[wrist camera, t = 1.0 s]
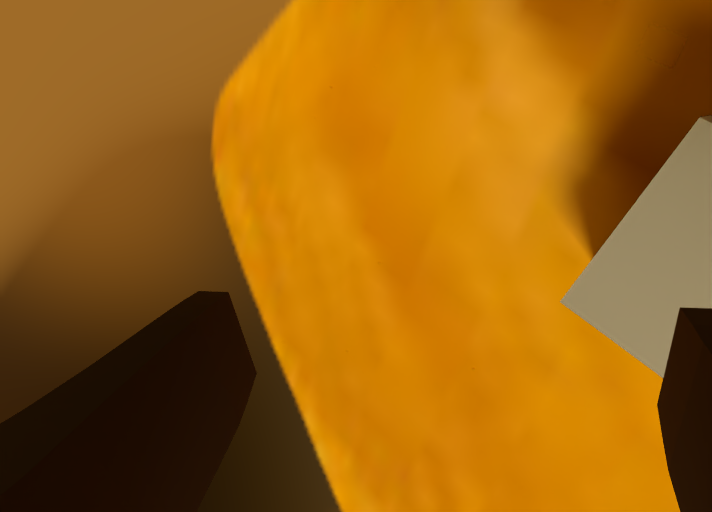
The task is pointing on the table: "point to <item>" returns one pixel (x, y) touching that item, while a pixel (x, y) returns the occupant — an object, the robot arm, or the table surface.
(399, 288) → the table surface
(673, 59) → the table surface
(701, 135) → the carton
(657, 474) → the table surface
